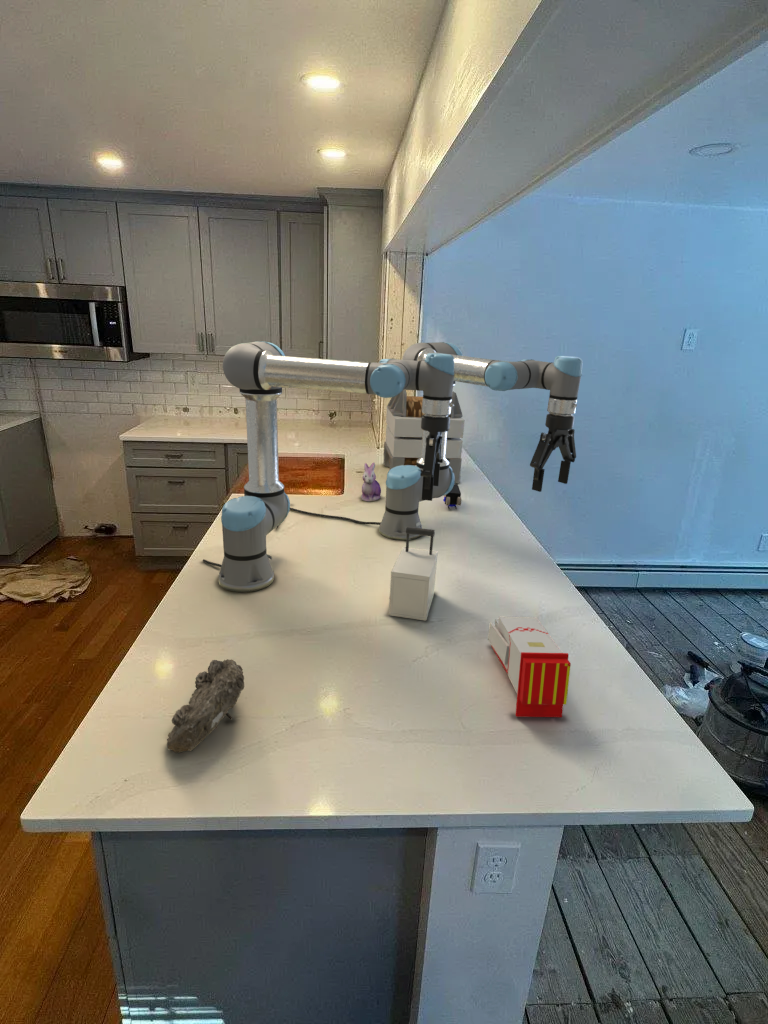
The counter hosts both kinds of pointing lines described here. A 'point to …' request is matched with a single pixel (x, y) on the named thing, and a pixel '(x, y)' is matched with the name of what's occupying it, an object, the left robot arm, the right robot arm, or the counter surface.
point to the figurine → (370, 484)
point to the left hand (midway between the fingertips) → (430, 492)
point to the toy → (531, 665)
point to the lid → (415, 558)
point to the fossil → (206, 705)
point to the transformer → (418, 433)
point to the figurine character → (453, 497)
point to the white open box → (411, 596)
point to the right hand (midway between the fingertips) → (549, 486)
